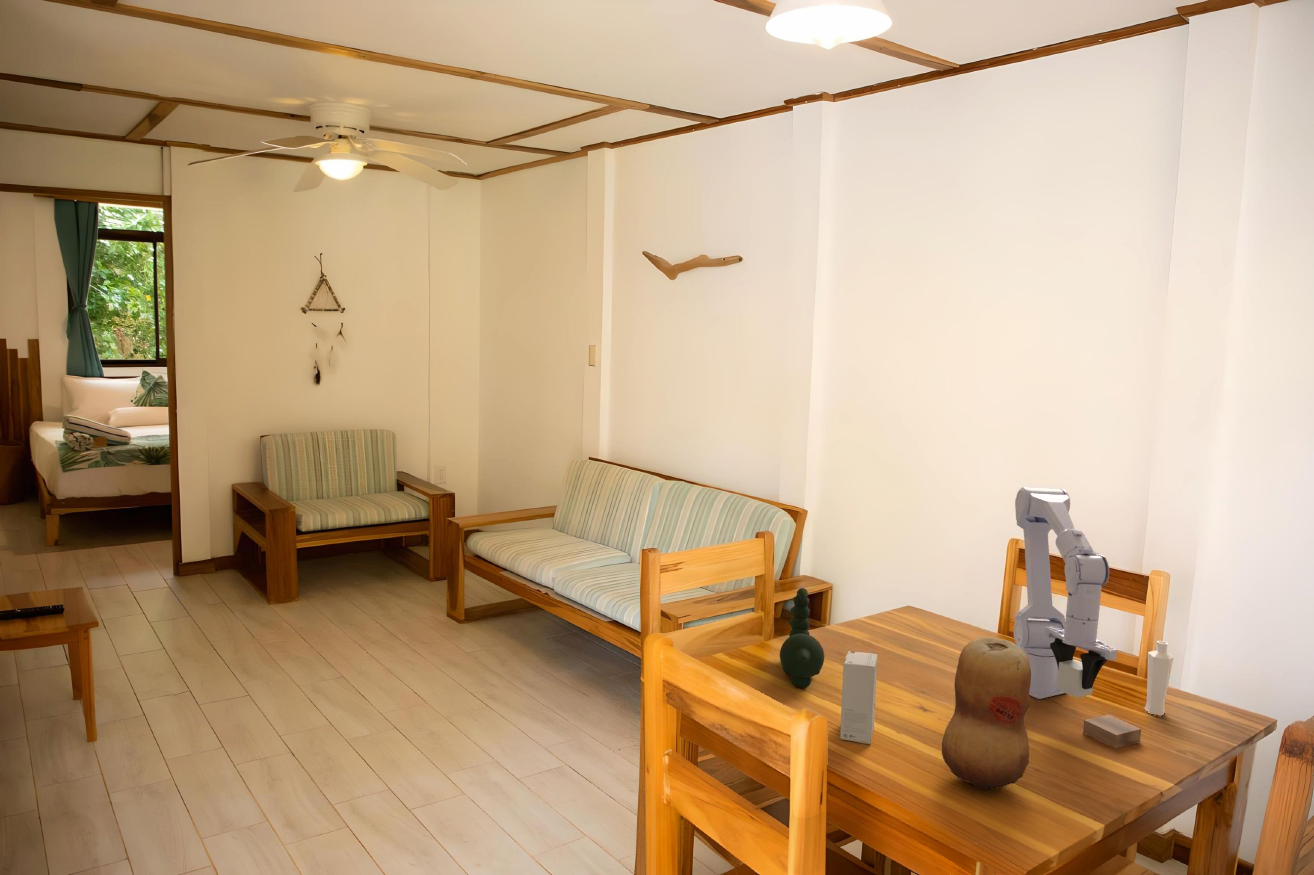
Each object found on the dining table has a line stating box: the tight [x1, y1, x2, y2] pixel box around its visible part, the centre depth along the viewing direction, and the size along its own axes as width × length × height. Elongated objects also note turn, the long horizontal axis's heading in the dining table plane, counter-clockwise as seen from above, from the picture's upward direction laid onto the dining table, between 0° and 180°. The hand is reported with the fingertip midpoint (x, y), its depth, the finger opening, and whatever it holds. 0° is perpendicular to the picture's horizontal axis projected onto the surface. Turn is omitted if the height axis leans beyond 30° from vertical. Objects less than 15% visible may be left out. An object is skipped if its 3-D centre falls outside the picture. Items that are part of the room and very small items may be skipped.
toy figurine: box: [779, 587, 825, 689], centre depth 195 cm, size 9×19×25 cm
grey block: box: [1057, 658, 1094, 699], centre depth 174 cm, size 4×4×6 cm
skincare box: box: [839, 650, 878, 745], centre depth 168 cm, size 8×6×15 cm
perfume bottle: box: [1144, 640, 1174, 715], centre depth 183 cm, size 5×4×15 cm
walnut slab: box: [1082, 714, 1142, 749], centre depth 171 cm, size 7×7×3 cm
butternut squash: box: [941, 636, 1031, 790], centre depth 149 cm, size 14×13×25 cm
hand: (1075, 683), depth 174 cm, fingers closed on grey block, 4 cm apart
